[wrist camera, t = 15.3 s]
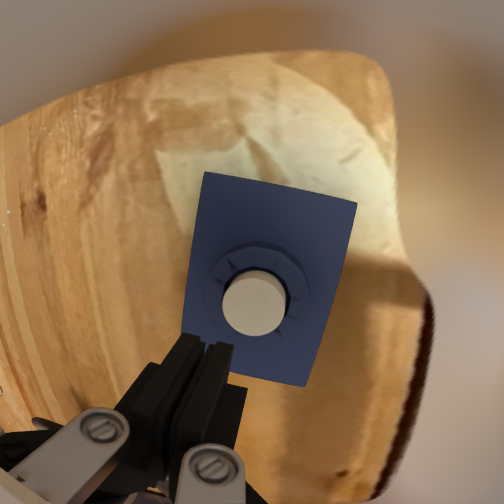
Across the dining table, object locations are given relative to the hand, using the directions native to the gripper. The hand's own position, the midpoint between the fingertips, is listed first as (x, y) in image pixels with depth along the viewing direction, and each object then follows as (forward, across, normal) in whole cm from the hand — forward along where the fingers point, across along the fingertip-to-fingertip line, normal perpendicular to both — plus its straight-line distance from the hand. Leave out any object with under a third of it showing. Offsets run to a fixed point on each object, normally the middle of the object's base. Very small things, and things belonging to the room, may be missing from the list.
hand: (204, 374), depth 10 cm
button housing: (+13, -1, +1) cm, 14 cm away
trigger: (+10, -1, +1) cm, 10 cm away
